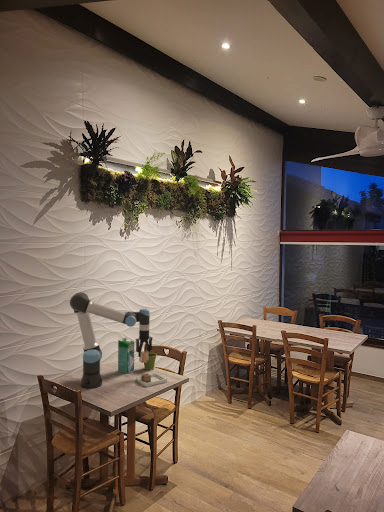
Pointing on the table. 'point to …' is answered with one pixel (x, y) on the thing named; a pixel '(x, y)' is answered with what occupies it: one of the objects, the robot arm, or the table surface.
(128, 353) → the milk carton
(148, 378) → the walnut cube
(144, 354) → the terracotta cylinder
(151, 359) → the plant pot
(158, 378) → the pale grey tray
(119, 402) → the table surface
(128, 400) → the table surface
